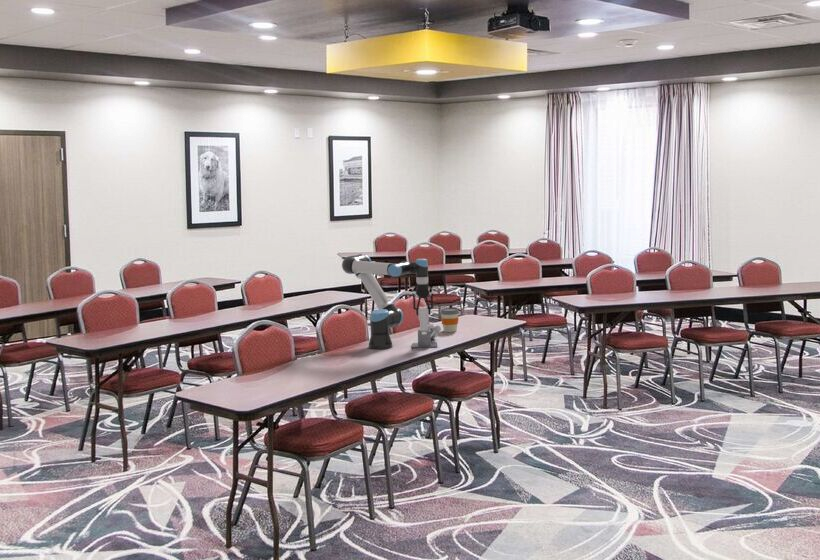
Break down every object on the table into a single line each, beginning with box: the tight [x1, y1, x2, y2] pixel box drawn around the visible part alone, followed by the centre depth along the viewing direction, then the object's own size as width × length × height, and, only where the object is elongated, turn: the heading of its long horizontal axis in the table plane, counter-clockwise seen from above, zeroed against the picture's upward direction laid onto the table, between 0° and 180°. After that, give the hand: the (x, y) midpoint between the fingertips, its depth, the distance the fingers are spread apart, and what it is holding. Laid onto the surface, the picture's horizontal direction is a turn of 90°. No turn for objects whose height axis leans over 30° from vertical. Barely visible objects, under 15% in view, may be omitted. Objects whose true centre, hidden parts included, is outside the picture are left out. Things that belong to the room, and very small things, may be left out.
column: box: [418, 306, 429, 332], centre depth 548 cm, size 5×5×18 cm
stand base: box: [411, 329, 438, 349], centre depth 550 cm, size 16×12×10 cm
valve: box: [428, 323, 442, 340], centre depth 566 cm, size 10×18×15 cm
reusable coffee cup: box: [440, 307, 460, 333], centre depth 600 cm, size 13×13×15 cm
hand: (423, 319), depth 548 cm, fingers closed on column, 5 cm apart
